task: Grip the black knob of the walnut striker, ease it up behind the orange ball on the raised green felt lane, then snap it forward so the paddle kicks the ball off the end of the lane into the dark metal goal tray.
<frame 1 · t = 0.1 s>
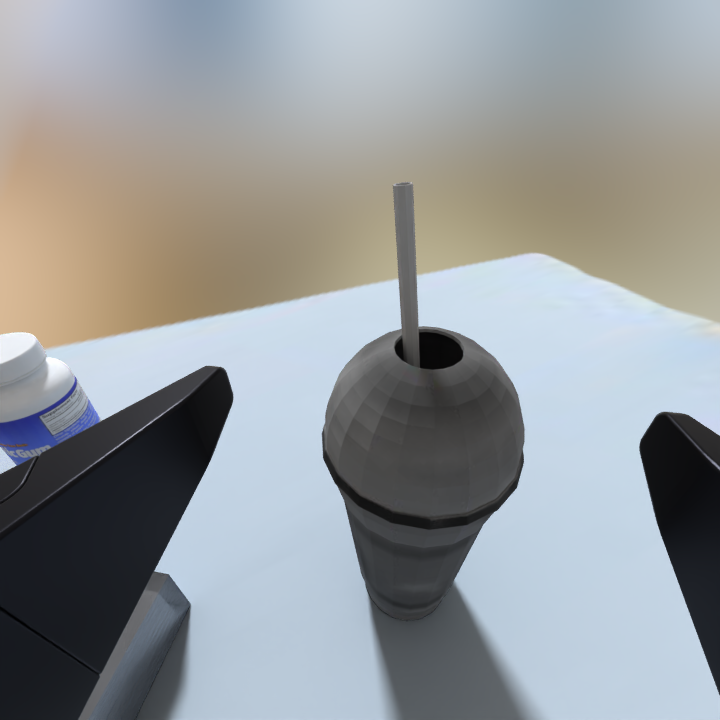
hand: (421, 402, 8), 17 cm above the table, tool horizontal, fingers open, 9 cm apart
pill bottle: (74, 457, 28), on the table
beverage cup: (404, 575, 21), on the table
goal: (68, 645, 19), on the table
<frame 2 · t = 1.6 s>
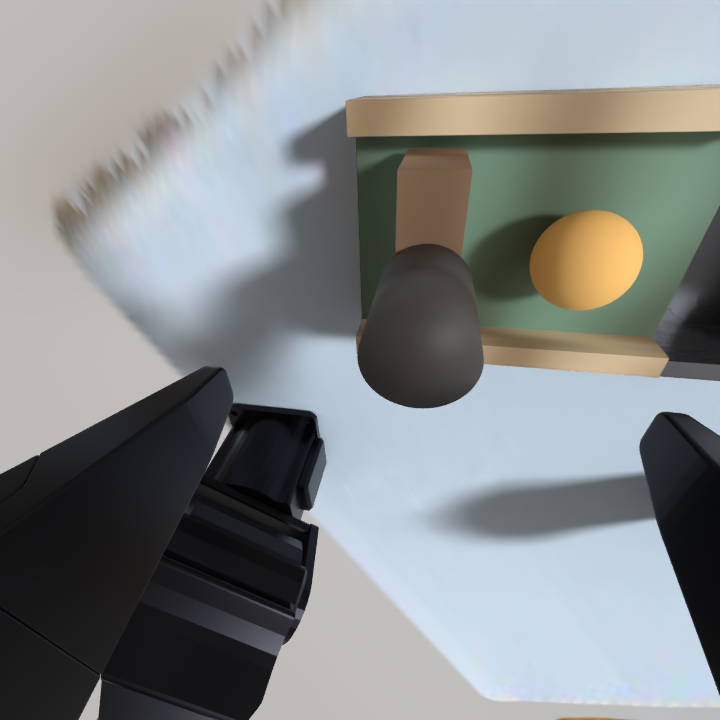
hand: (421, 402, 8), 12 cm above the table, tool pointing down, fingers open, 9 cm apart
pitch: (510, 227, 17), on the table
ball: (569, 244, 15), point 2 cm above the table, touching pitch
striker: (425, 289, 12), point 7 cm above the table, slide at 0.0 cm
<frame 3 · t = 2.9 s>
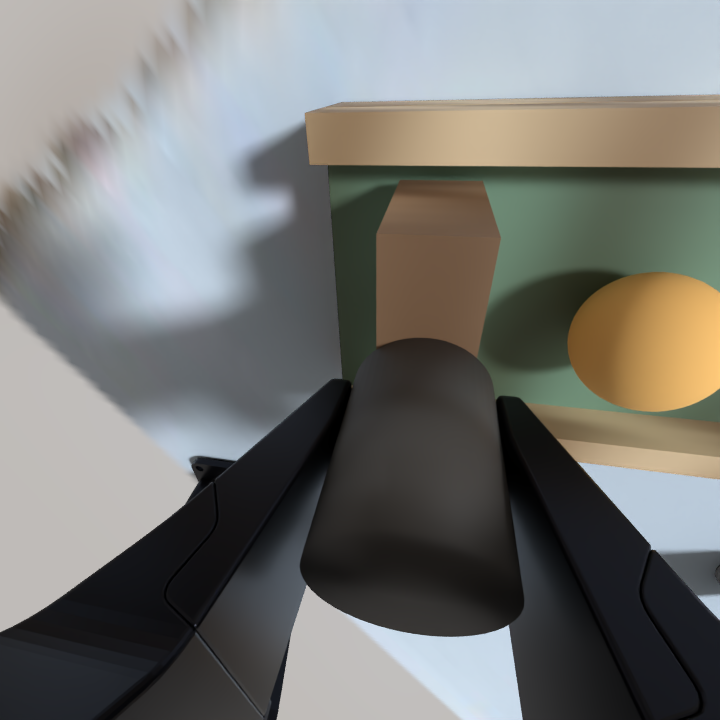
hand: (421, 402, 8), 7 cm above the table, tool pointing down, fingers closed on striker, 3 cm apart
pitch: (535, 275, 13), on the table
ball: (621, 308, 11), point 2 cm above the table, touching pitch
striker: (421, 394, 8), point 7 cm above the table, slide at 0.0 cm, touching gripper
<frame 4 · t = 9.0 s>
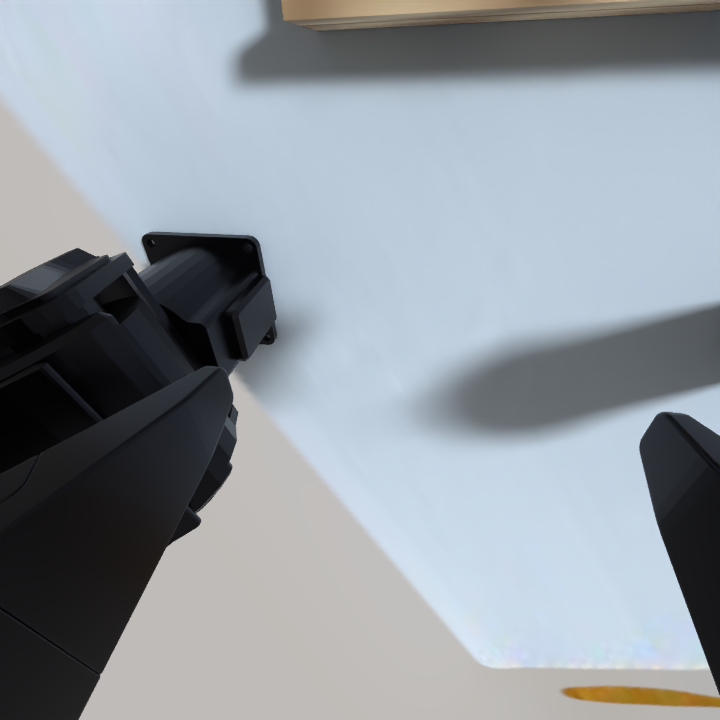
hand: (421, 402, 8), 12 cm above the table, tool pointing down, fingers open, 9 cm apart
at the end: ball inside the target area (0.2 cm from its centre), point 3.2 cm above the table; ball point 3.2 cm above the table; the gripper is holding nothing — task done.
